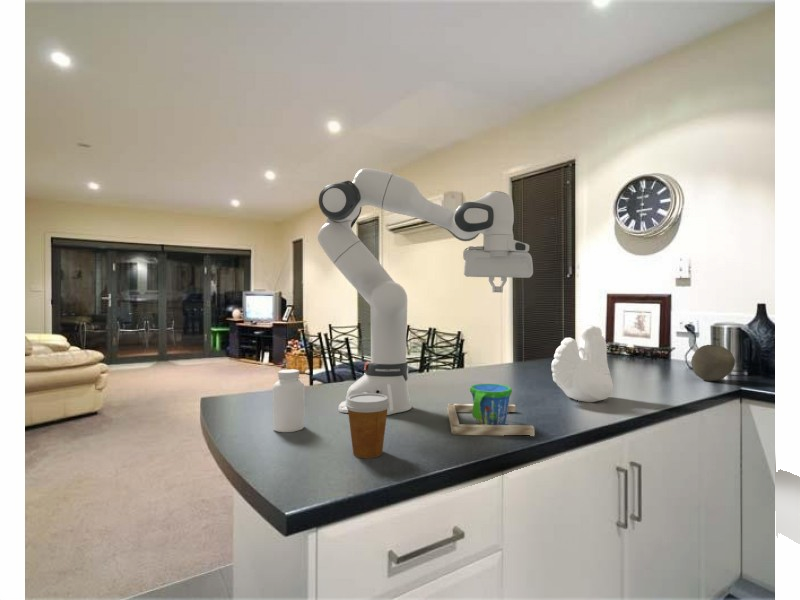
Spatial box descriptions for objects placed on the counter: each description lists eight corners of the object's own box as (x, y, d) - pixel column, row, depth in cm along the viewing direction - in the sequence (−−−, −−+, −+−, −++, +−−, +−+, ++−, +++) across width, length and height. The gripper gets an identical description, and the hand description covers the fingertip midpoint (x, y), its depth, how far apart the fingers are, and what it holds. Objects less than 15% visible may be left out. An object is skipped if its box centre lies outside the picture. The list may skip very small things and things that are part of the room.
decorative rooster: (589, 392, 153) (588, 324, 154) (625, 402, 139) (624, 326, 139) (530, 398, 145) (530, 325, 146) (562, 408, 130) (562, 327, 131)
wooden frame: (452, 434, 105) (452, 426, 105) (447, 410, 129) (447, 403, 129) (534, 436, 103) (534, 427, 103) (514, 411, 127) (514, 404, 127)
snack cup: (491, 436, 103) (490, 394, 103) (456, 427, 111) (456, 388, 111) (524, 423, 114) (523, 385, 114) (490, 416, 122) (490, 380, 122)
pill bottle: (276, 434, 105) (276, 374, 105) (270, 426, 112) (270, 369, 112) (308, 430, 109) (308, 371, 109) (300, 422, 116) (300, 367, 116)
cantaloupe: (702, 383, 170) (702, 346, 170) (685, 377, 184) (685, 343, 184) (742, 384, 168) (742, 346, 168) (721, 378, 181) (721, 343, 182)
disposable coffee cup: (346, 446, 96) (346, 393, 96) (388, 445, 97) (388, 392, 97) (344, 462, 87) (344, 403, 87) (391, 460, 88) (391, 402, 88)
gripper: (464, 244, 125) (463, 291, 125) (534, 245, 124) (534, 292, 124) (462, 247, 132) (461, 292, 132) (529, 248, 130) (529, 293, 130)
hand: (497, 292), depth 128 cm, fingers closed
